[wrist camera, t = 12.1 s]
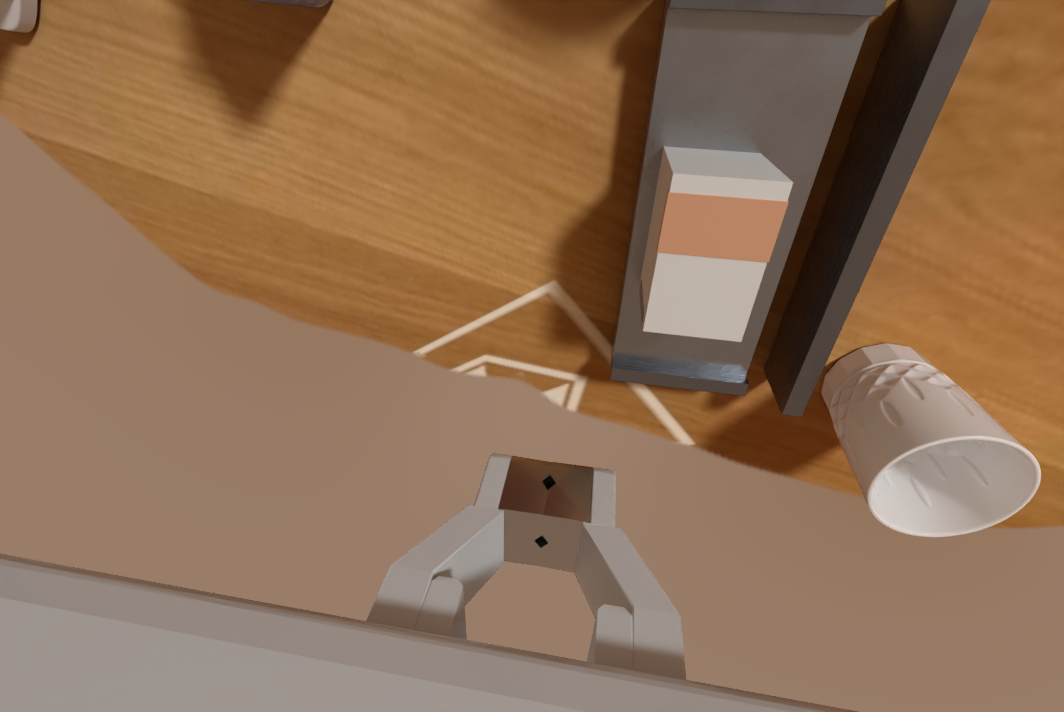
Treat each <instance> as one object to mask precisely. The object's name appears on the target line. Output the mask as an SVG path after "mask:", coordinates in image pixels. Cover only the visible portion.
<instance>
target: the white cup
mask: <svg viewBox="0 0 1064 712" xmlns="http://www.w3.org/2000/svg"><path fill="white" fill-rule="evenodd" d="M821 394H822V397H823V399H824V401H825V404H826V406H827V408H828V411H829V413H830V415H831V418H832V423H833V427H834V429H835V431H836V434H837V437H838V440H839V442H840V444H841V446H842V449H843V451H844V453H845V455H846V458H847V460H848V462H849V464H850V467H851V469H852V471H853V474H854V476H855V478H856V480H857V482H858V485H859V487H860V489H861V491H862V494H863V496H864V498H865V500H866V503H867V505H868V507H869V509H870V511H871V513H872V514H873V516H874V517H875V518H876V519H877V520H878V521H879V522H880V523H882V524H884V525H885V526H887V527H888V528H890V529H893V530H895V531H898V532H901V533H905V534H909V535H914V536H922V537H945V536H946V537H947V536H955V535H962V534H967V533H971V532H975V531H978V530H982V529H985V528H987V527H990V526H993V525H995V524H997V523H999V522H1001V521H1003V520H1005V519H1007V518H1009V517H1010V516H1012V515H1013V514H1015V513H1016V512H1018V511H1019V510H1020V509H1022V508H1023V507H1024V506H1025V505H1026V504H1027V503H1028V502H1029V501H1030V500H1031V499H1032V497H1033V496H1034V494H1035V493H1036V491H1037V489H1038V487H1039V484H1040V480H1041V470H1040V466H1039V463H1038V461H1037V460H1036V458H1035V457H1034V456H1033V455H1032V454H1031V453H1030V452H1029V451H1028V450H1027V449H1026V448H1025V447H1024V446H1023V445H1022V444H1021V443H1020V442H1018V441H1017V440H1016V439H1015V438H1014V437H1013V436H1012V435H1011V434H1010V433H1009V432H1008V431H1007V430H1006V429H1004V428H1003V427H1002V426H1001V425H1000V424H999V423H998V422H997V421H996V420H995V419H994V418H993V417H992V416H991V415H990V414H989V413H988V412H986V411H985V410H984V409H983V408H982V407H981V406H980V405H979V404H978V403H977V402H976V401H975V400H974V399H973V398H972V397H970V396H969V395H968V394H967V393H966V392H965V391H964V390H963V389H961V388H960V387H959V386H958V385H957V384H955V383H954V382H953V381H952V380H951V379H950V378H949V377H948V376H947V375H945V374H944V373H943V372H941V371H939V370H938V369H937V368H936V367H935V366H933V365H932V364H931V363H930V362H929V361H928V360H927V359H926V358H925V357H923V356H922V355H921V354H919V353H918V352H916V351H915V350H914V349H912V348H911V347H908V346H902V345H895V344H889V343H883V344H878V345H873V346H867V347H862V348H859V349H857V350H856V351H854V352H852V353H850V354H848V355H846V356H844V357H843V358H841V359H839V360H838V361H837V362H836V363H835V365H834V366H833V367H832V368H831V369H830V370H829V371H828V373H827V374H826V375H825V377H824V382H823V386H822V390H821Z"/></svg>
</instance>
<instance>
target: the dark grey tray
mask: <svg viewBox="0 0 1064 712" xmlns="http://www.w3.org/2000/svg"><path fill="white" fill-rule="evenodd" d="M886 1H887V0H666V1H665V8H664V14H663V21H662V27H661V33H660V40H659V46H658V53H657V59H656V66H655V72H654V79H653V85H652V92H651V98H650V105H649V111H648V118H647V124H646V131H645V137H644V144H643V150H642V157H641V163H640V170H639V176H638V183H637V189H636V196H635V202H634V209H633V215H632V222H631V228H630V235H629V241H628V248H627V254H626V261H625V267H624V274H623V280H622V287H621V293H620V300H619V306H618V313H617V319H616V326H615V332H614V339H613V345H612V352H611V377H610V380H615V381H623V382H632V383H640V384H648V385H657V386H665V387H673V388H681V389H690V390H698V391H706V392H714V393H723V394H731V395H739V396H745V395H746V392H747V389H748V386H749V382H748V379H747V377H746V374H747V372H748V369H749V366H750V363H751V360H752V357H753V354H754V352H755V349H756V346H757V343H758V340H759V337H760V334H761V332H762V329H763V326H764V323H765V320H766V317H767V314H768V311H769V309H770V306H771V303H772V300H773V297H774V294H775V291H776V289H777V286H778V283H779V280H780V277H781V274H782V271H783V269H784V266H785V263H786V260H787V257H788V254H789V251H790V249H791V246H792V243H793V240H794V237H795V234H796V231H797V228H798V226H799V223H800V220H801V217H802V214H803V211H804V208H805V206H806V203H807V200H808V197H809V194H810V191H811V188H812V186H813V183H814V180H815V177H816V174H817V171H818V168H819V166H820V163H821V160H822V157H823V154H824V151H825V148H826V146H827V143H828V140H829V137H830V134H831V131H832V128H833V125H834V123H835V120H836V117H837V114H838V111H839V108H840V105H841V103H842V100H843V97H844V94H845V91H846V88H847V85H848V83H849V80H850V77H851V74H852V71H853V68H854V65H855V63H856V60H857V57H858V54H859V51H860V48H861V45H862V42H863V40H864V37H865V34H866V31H867V28H868V25H869V22H870V20H871V17H872V16H881V15H882V12H883V10H884V7H885V4H886ZM990 1H991V0H901V1H900V4H899V7H898V9H897V12H896V15H895V17H894V20H893V23H892V25H891V28H890V31H889V34H888V36H887V39H886V42H885V44H884V47H883V50H882V52H881V55H880V58H879V60H878V63H877V66H876V69H875V71H874V74H873V77H872V79H871V82H870V85H869V87H868V90H867V93H866V96H865V98H864V101H863V104H862V106H861V109H860V112H859V114H858V117H857V120H856V122H855V125H854V128H853V131H852V133H851V136H850V139H849V141H848V144H847V147H846V149H845V152H844V155H843V157H842V160H841V163H840V166H839V168H838V171H837V174H836V176H835V179H834V182H833V184H832V187H831V190H830V192H829V195H828V198H827V201H826V203H825V206H824V209H823V211H822V214H821V217H820V219H819V222H818V225H817V227H816V230H815V233H814V236H813V238H812V241H811V244H810V246H809V249H808V252H807V254H806V257H805V260H804V262H803V265H802V268H801V271H800V273H799V276H798V279H797V281H796V284H795V287H794V289H793V292H792V295H791V298H790V300H789V303H788V306H787V308H786V311H785V314H784V316H783V319H782V322H781V324H780V327H779V330H778V333H777V335H776V338H775V341H774V343H773V346H772V349H771V351H770V354H769V357H768V359H767V362H766V365H765V368H764V372H765V375H766V377H767V380H768V382H769V384H770V387H771V389H772V392H773V394H774V396H775V399H776V401H777V404H778V406H779V409H780V411H781V413H782V415H790V416H798V417H802V415H803V413H804V410H805V408H806V406H807V404H808V402H809V399H810V397H811V395H812V393H813V390H814V388H815V386H816V384H817V382H818V379H819V377H820V375H821V373H822V371H823V368H824V366H825V364H826V362H827V360H828V357H829V355H830V353H831V351H832V349H833V346H834V344H835V342H836V340H837V338H838V335H839V333H840V331H841V329H842V327H843V324H844V322H845V320H846V318H847V316H848V313H849V311H850V309H851V307H852V305H853V302H854V300H855V298H856V296H857V294H858V291H859V289H860V287H861V285H862V283H863V280H864V278H865V276H866V274H867V272H868V269H869V267H870V265H871V263H872V261H873V258H874V256H875V254H876V252H877V250H878V247H879V245H880V243H881V241H882V239H883V236H884V234H885V232H886V230H887V228H888V225H889V223H890V221H891V219H892V217H893V214H894V212H895V210H896V208H897V206H898V203H899V201H900V199H901V197H902V195H903V192H904V190H905V188H906V186H907V184H908V181H909V179H910V177H911V175H912V173H913V170H914V168H915V166H916V164H917V162H918V159H919V157H920V155H921V153H922V151H923V148H924V146H925V144H926V142H927V140H928V137H929V135H930V133H931V131H932V129H933V126H934V124H935V122H936V120H937V118H938V115H939V113H940V111H941V109H942V107H943V104H944V102H945V100H946V98H947V96H948V93H949V91H950V89H951V87H952V85H953V82H954V80H955V78H956V76H957V74H958V71H959V69H960V67H961V65H962V63H963V60H964V58H965V56H966V54H967V52H968V49H969V47H970V45H971V43H972V41H973V38H974V36H975V34H976V32H977V30H978V27H979V25H980V23H981V21H982V19H983V16H984V14H985V12H986V10H987V8H988V5H989V3H990ZM664 146H665V147H679V148H693V149H708V150H722V151H736V152H751V153H761V154H762V155H763V156H764V157H765V158H767V159H768V160H769V161H770V162H771V163H772V164H773V165H774V166H776V167H777V168H778V169H779V170H780V171H781V172H782V173H783V174H785V175H786V176H787V177H788V178H789V179H790V180H791V181H792V182H793V185H792V188H791V191H790V194H789V198H788V202H789V203H788V206H787V209H786V212H785V215H784V218H783V221H782V224H781V227H780V230H779V233H778V236H777V239H776V242H775V245H774V248H773V251H772V254H771V257H770V260H769V263H768V262H767V265H766V268H765V271H764V274H763V277H762V280H761V283H760V286H759V289H758V292H757V295H756V298H755V302H754V305H753V308H752V311H751V314H750V317H749V320H748V323H747V326H746V329H745V332H744V335H743V338H742V341H741V342H736V341H727V340H718V339H709V338H700V337H691V336H681V335H672V334H663V333H654V332H645V331H643V325H642V324H641V311H640V294H639V287H640V279H641V273H642V267H643V262H644V256H645V250H646V244H647V239H648V233H649V227H650V222H651V216H652V210H653V205H654V199H655V193H656V188H657V182H658V176H659V171H660V165H661V159H662V154H663V148H664Z"/></svg>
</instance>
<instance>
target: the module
mask: <svg viewBox="0 0 1064 712" xmlns="http://www.w3.org/2000/svg"><path fill="white" fill-rule="evenodd" d="M792 185H793V182H792V181H791V180H790V179H789V178H788V177H787V176H786V175H785V174H783V173H782V172H781V171H780V170H779V169H778V168H777V167H776V166H774V165H773V164H772V163H771V162H770V161H769V160H768V159H767V158H765V157H764V156H763V155H762V154H761V153H751V152H736V151H722V150H708V149H693V148H679V147H665V146H664V148H663V154H662V159H661V165H660V171H659V176H658V182H657V188H656V193H655V199H654V205H653V210H652V216H651V222H650V227H649V233H648V239H647V244H646V250H645V256H644V262H643V267H642V273H641V279H640V287H639V294H640V311H641V324H642V325H643V331H645V332H654V333H663V334H672V335H681V336H691V337H700V338H709V339H718V340H727V341H736V342H741V341H742V338H743V335H744V332H745V329H746V326H747V323H748V320H749V317H750V314H751V311H752V308H753V305H754V302H755V298H756V295H757V292H758V289H759V286H760V283H761V280H762V277H763V274H764V271H765V268H766V265H767V262H768V263H769V260H770V257H771V254H772V251H773V248H774V245H775V242H776V239H777V236H778V233H779V230H780V227H781V224H782V221H783V218H784V215H785V212H786V209H787V206H788V203H789V202H788V198H789V194H790V191H791V188H792Z"/></svg>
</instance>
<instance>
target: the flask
mask: <svg viewBox="0 0 1064 712" xmlns="http://www.w3.org/2000/svg"><path fill="white" fill-rule="evenodd" d="M247 1H257V2H268V3H280V4H291V5H301V6H310V7H315V8H317V7H324V6H325V5H327V4H328V3H330V2H331V1H332V0H247Z"/></svg>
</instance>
